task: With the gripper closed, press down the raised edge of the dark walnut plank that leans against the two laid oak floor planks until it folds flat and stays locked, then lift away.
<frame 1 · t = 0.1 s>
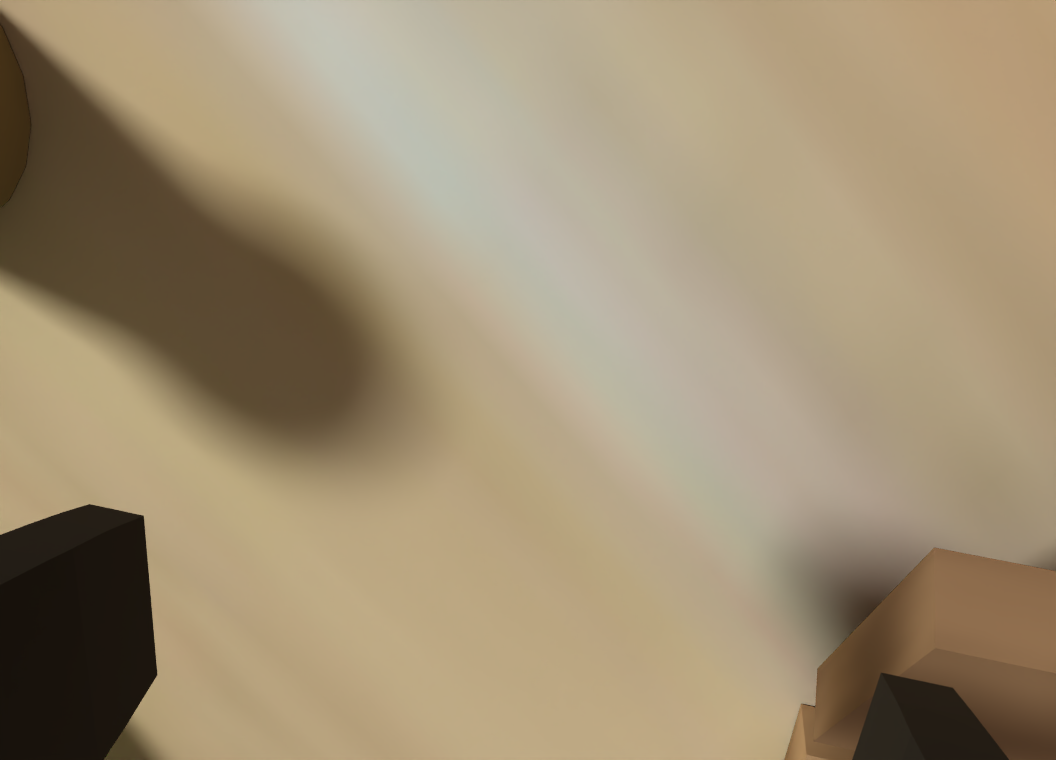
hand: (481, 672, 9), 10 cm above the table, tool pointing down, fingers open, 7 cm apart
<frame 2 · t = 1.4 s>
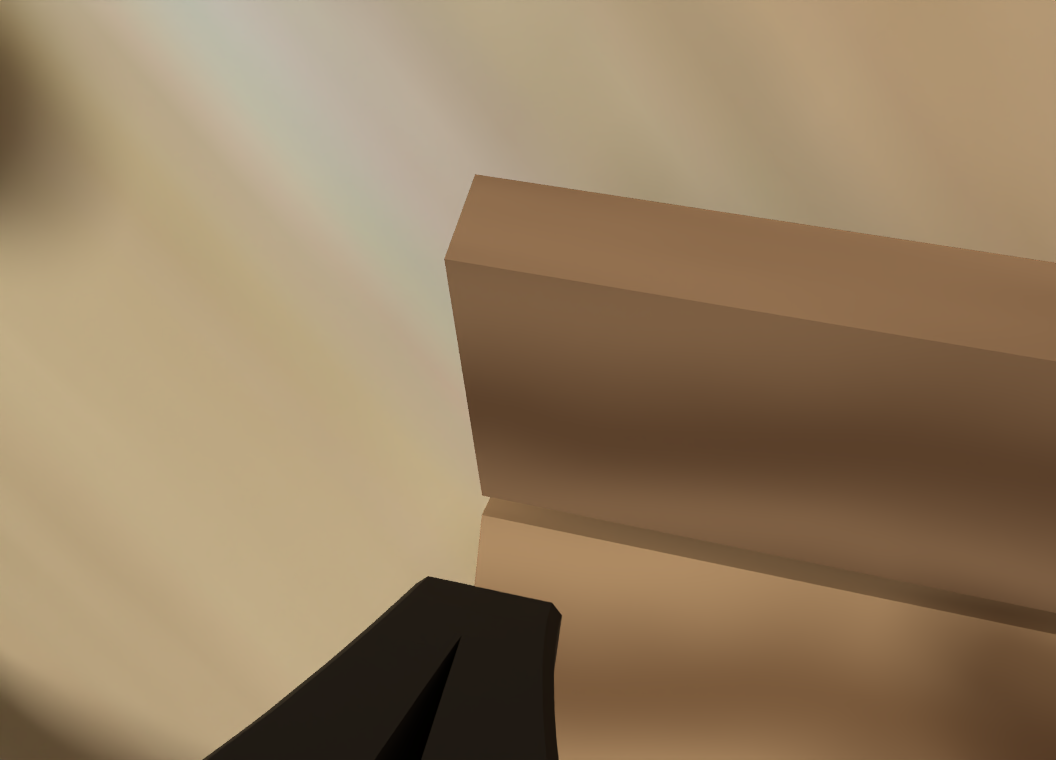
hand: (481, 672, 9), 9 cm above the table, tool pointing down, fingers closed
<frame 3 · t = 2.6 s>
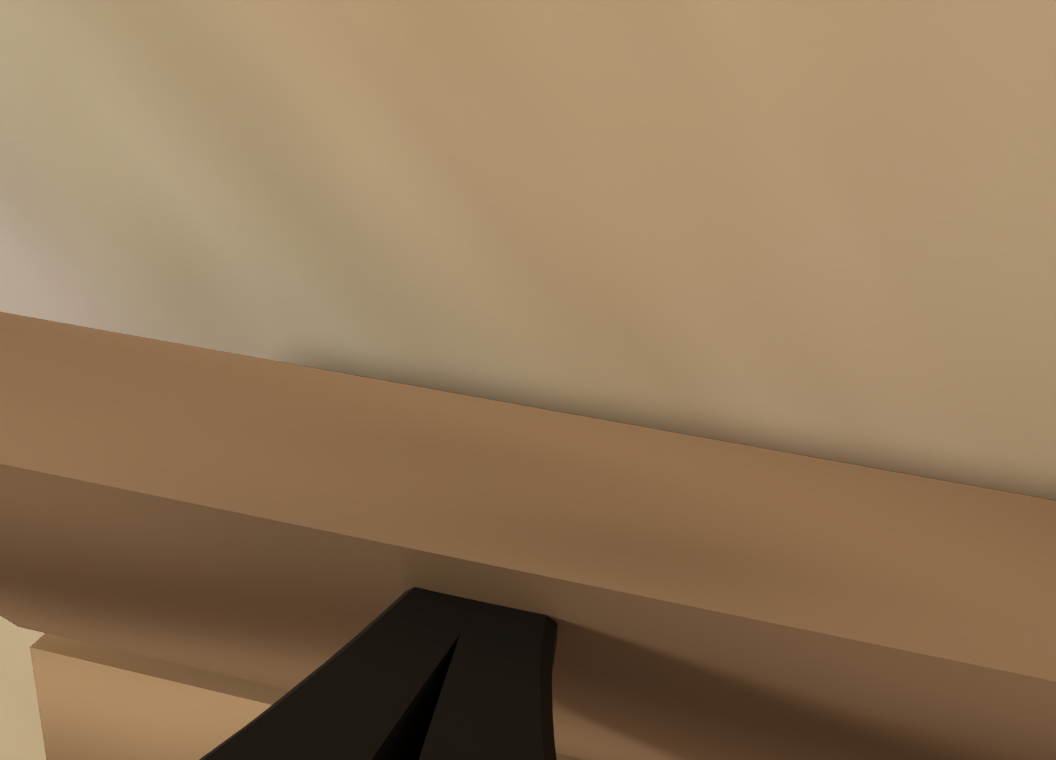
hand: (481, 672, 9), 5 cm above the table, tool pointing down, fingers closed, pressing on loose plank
loose plank: (769, 669, 10), point 3 cm above the table, hinge at 34.3°, touching gripper
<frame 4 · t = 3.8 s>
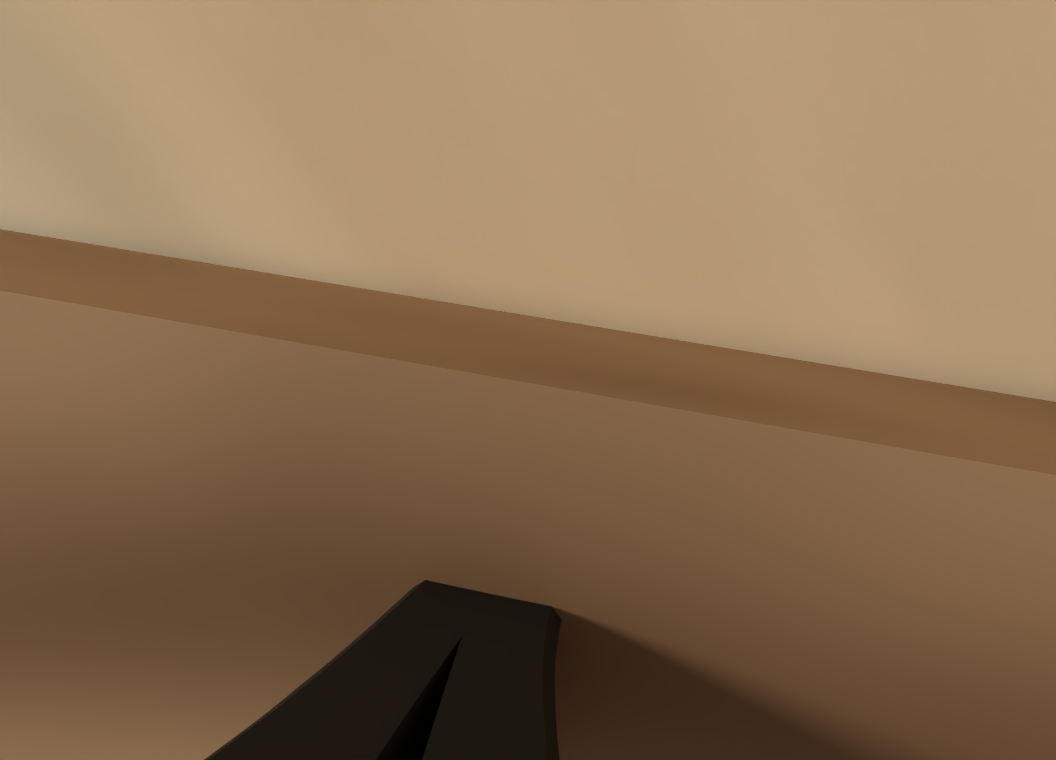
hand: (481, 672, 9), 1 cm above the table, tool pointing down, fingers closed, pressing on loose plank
loose plank: (778, 715, 9), point 1 cm above the table, hinge at 1.4°, touching gripper
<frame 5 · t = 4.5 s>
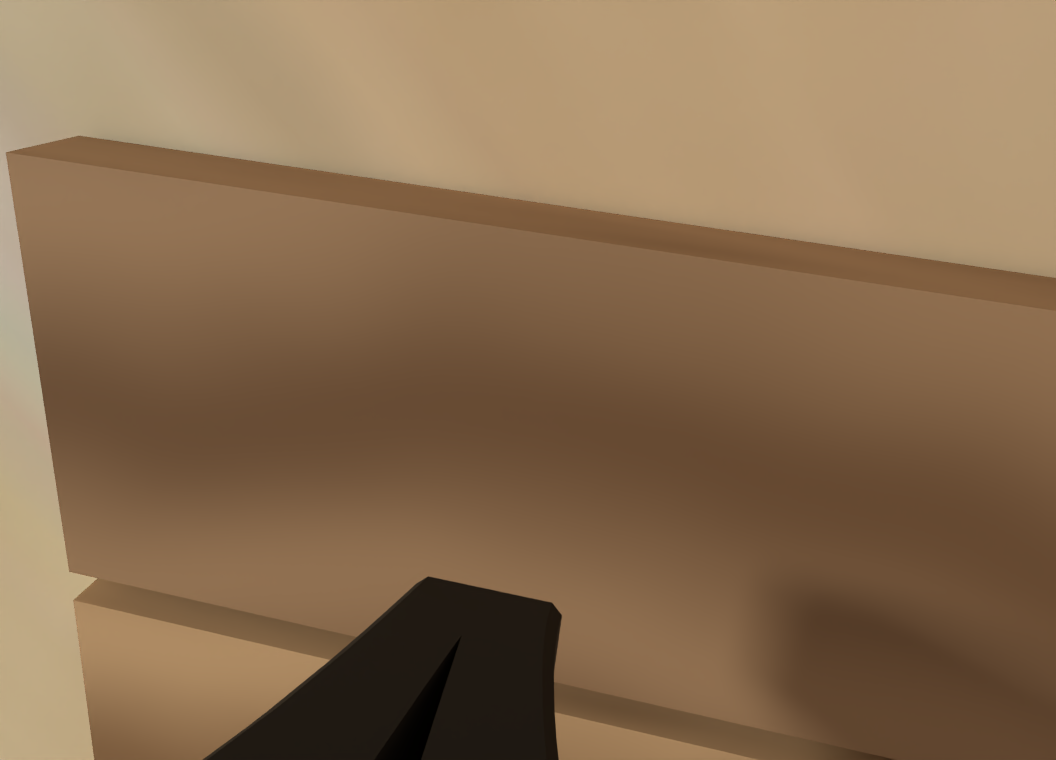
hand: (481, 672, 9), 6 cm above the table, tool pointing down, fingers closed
loose plank: (773, 498, 13), point 1 cm above the table, hinge at 1.2°
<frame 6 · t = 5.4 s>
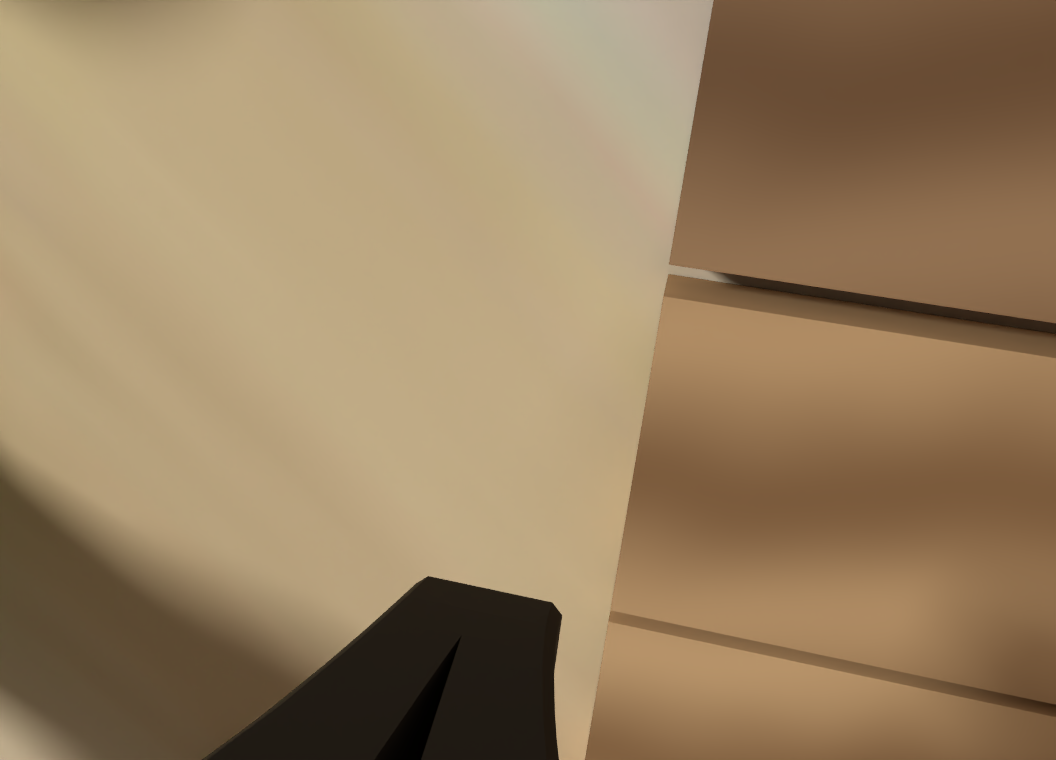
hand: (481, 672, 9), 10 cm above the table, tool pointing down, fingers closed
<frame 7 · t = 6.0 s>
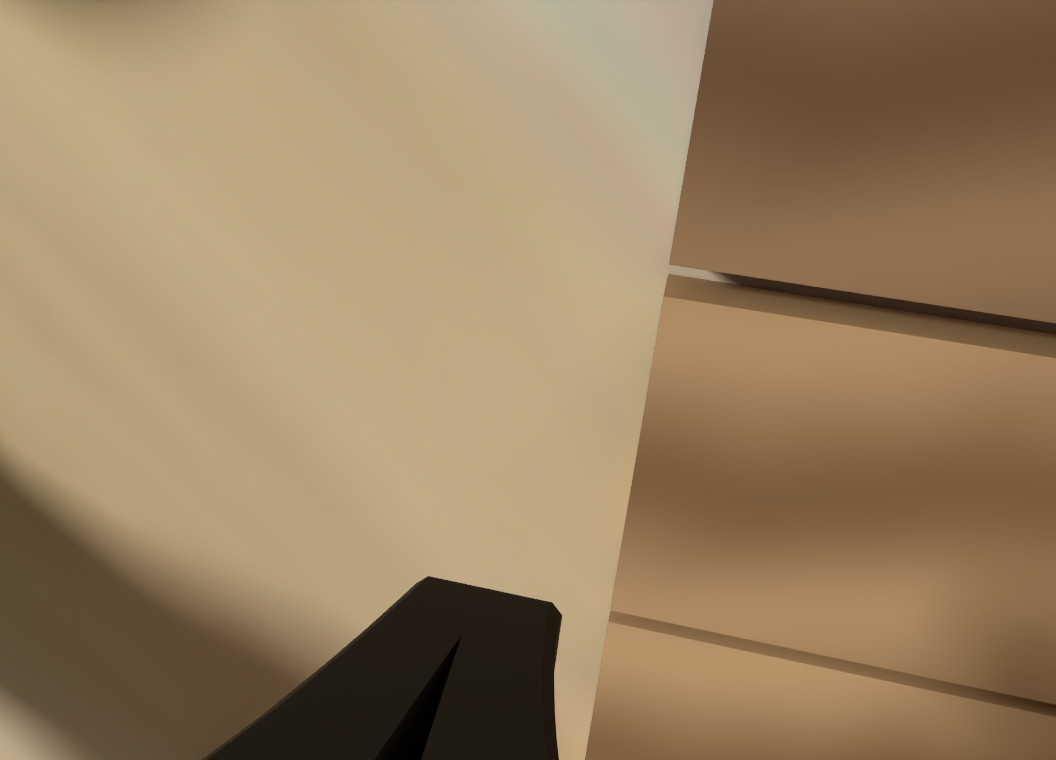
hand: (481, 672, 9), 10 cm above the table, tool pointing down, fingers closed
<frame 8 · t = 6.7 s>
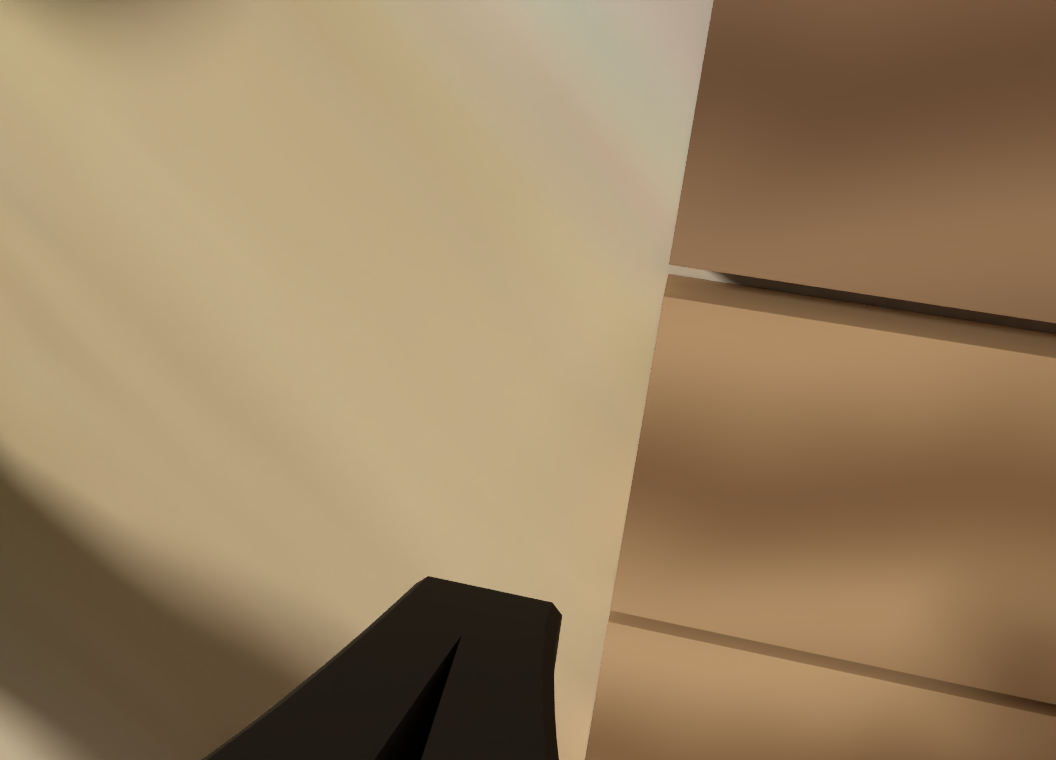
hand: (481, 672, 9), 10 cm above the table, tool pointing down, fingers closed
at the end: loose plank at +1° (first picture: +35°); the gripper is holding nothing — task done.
